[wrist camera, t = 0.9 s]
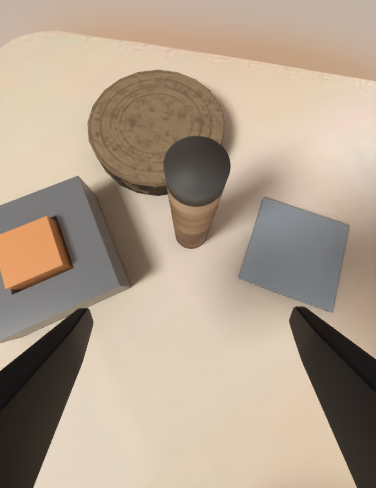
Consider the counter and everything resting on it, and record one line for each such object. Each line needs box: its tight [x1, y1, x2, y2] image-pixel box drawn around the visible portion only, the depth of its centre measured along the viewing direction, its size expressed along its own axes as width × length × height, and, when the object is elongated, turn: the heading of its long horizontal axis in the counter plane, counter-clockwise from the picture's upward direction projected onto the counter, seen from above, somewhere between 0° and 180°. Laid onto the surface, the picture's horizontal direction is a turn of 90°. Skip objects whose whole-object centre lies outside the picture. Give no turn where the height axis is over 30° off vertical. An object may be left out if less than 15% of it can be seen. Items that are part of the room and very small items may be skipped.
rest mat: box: [238, 197, 349, 312], centre depth 23 cm, size 10×10×1 cm
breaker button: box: [0, 216, 74, 290], centre depth 19 cm, size 5×5×3 cm
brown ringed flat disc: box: [88, 70, 224, 196], centre depth 26 cm, size 16×16×3 cm
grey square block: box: [0, 176, 131, 343], centre depth 21 cm, size 12×12×4 cm
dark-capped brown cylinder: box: [163, 136, 230, 249], centre depth 17 cm, size 4×4×13 cm
